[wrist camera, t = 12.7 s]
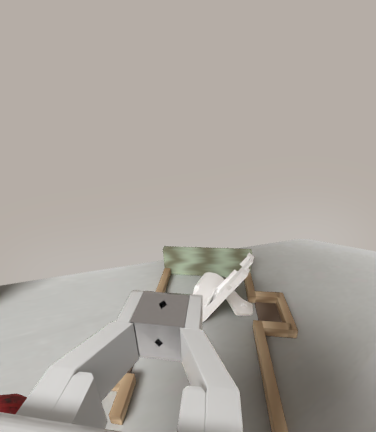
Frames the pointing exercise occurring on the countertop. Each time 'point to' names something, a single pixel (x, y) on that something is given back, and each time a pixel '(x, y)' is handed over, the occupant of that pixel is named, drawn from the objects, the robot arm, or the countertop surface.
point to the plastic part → (224, 290)
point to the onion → (11, 403)
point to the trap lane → (266, 326)
